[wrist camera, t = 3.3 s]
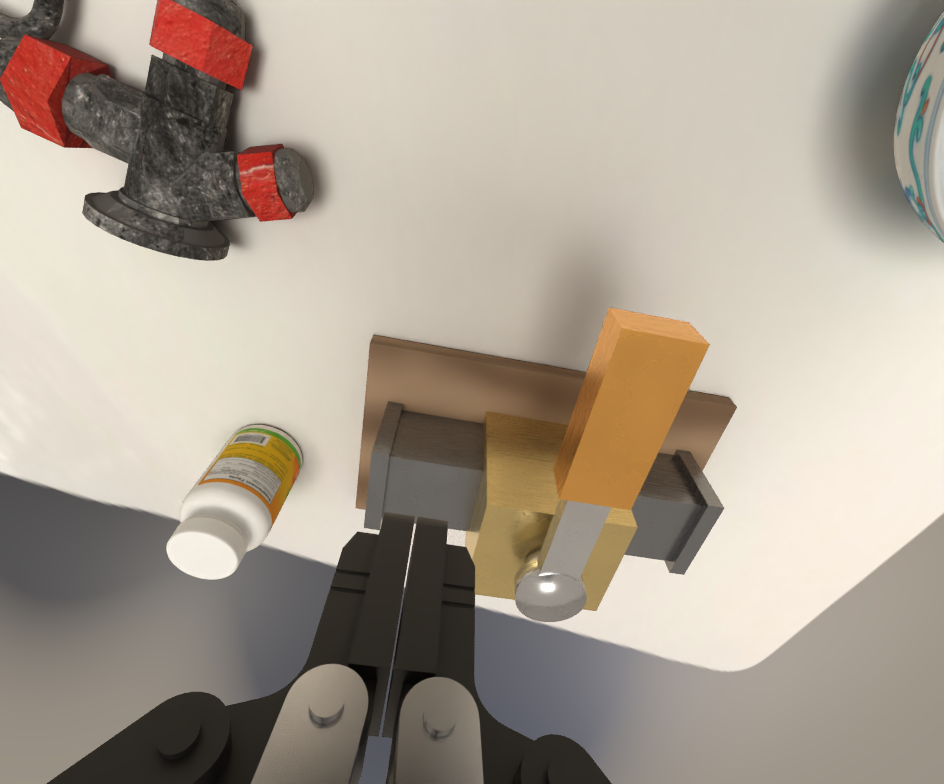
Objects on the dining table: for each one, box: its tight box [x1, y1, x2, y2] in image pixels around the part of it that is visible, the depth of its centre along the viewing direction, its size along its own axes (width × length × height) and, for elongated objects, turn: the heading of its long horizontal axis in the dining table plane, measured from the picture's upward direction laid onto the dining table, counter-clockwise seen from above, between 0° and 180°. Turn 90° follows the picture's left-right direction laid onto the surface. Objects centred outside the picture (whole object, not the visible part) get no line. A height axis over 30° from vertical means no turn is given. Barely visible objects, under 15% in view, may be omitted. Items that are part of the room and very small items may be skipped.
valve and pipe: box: [364, 401, 724, 611], centre depth 31 cm, size 7×21×10 cm, turn 79°
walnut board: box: [356, 335, 737, 510], centre depth 35 cm, size 14×24×1 cm, turn 79°
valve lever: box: [514, 308, 710, 622], centre depth 22 cm, size 17×4×2 cm, turn 169°
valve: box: [0, 0, 314, 261], centre depth 22 cm, size 6×26×15 cm
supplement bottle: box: [167, 425, 302, 579], centre depth 32 cm, size 5×5×10 cm
